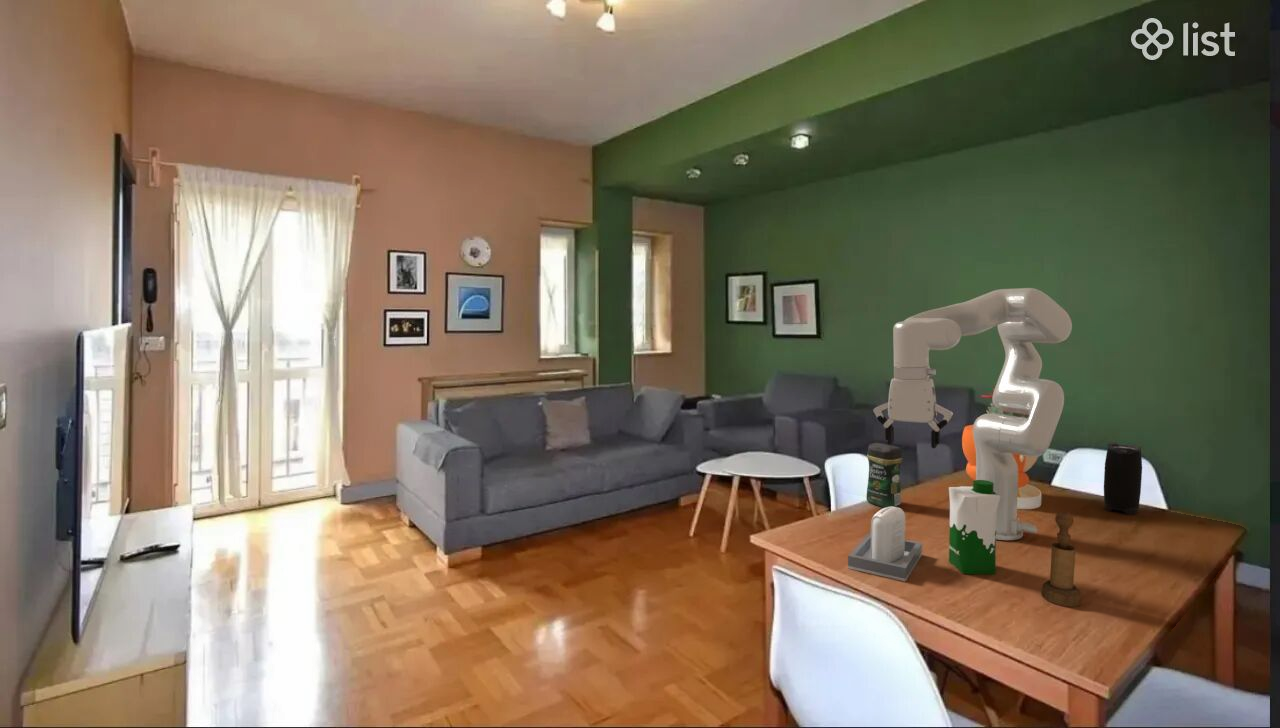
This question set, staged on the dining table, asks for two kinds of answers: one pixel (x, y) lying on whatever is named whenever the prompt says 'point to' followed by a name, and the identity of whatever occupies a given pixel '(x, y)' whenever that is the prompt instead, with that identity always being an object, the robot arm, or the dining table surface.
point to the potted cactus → (1026, 493)
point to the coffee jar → (884, 475)
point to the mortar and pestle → (1062, 567)
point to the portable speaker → (1122, 478)
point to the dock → (894, 570)
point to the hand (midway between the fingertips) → (912, 445)
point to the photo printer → (888, 534)
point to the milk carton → (973, 528)
